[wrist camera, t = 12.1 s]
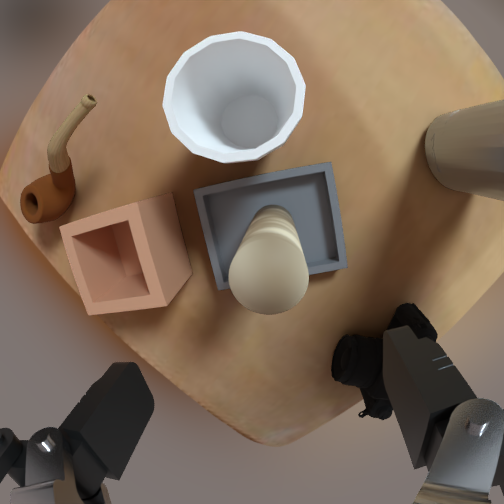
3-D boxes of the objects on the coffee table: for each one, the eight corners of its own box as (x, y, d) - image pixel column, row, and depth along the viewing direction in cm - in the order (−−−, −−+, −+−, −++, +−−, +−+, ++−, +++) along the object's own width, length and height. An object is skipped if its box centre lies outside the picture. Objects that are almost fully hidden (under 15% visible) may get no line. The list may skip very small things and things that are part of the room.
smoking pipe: (75, 218, 35) (52, 190, 35) (131, 99, 26) (101, 73, 25) (35, 239, 29) (13, 207, 29) (78, 102, 20) (50, 74, 19)
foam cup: (262, 181, 32) (252, 190, 19) (190, 137, 31) (139, 122, 18) (311, 109, 29) (331, 73, 17) (237, 67, 28) (213, 13, 16)
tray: (327, 162, 30) (331, 161, 28) (343, 260, 33) (347, 267, 31) (199, 188, 32) (193, 189, 30) (222, 282, 35) (218, 290, 33)
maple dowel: (289, 200, 31) (301, 232, 16) (297, 241, 32) (313, 307, 17) (248, 208, 32) (220, 247, 16) (256, 248, 33) (238, 319, 17)
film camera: (362, 285, 34) (385, 322, 25) (424, 304, 34) (456, 339, 25) (316, 382, 38) (322, 430, 30) (375, 393, 38) (390, 436, 30)
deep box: (172, 192, 33) (137, 201, 24) (192, 272, 35) (167, 305, 26) (103, 212, 34) (59, 226, 25) (124, 284, 36) (88, 315, 28)
